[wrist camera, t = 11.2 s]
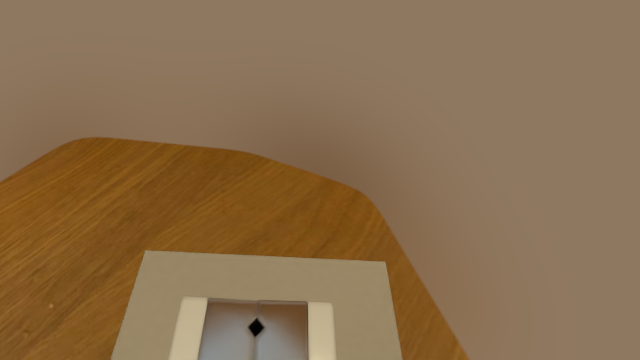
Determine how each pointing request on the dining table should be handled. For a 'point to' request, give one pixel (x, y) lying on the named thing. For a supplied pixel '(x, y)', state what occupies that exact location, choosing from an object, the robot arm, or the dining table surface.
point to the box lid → (260, 298)
